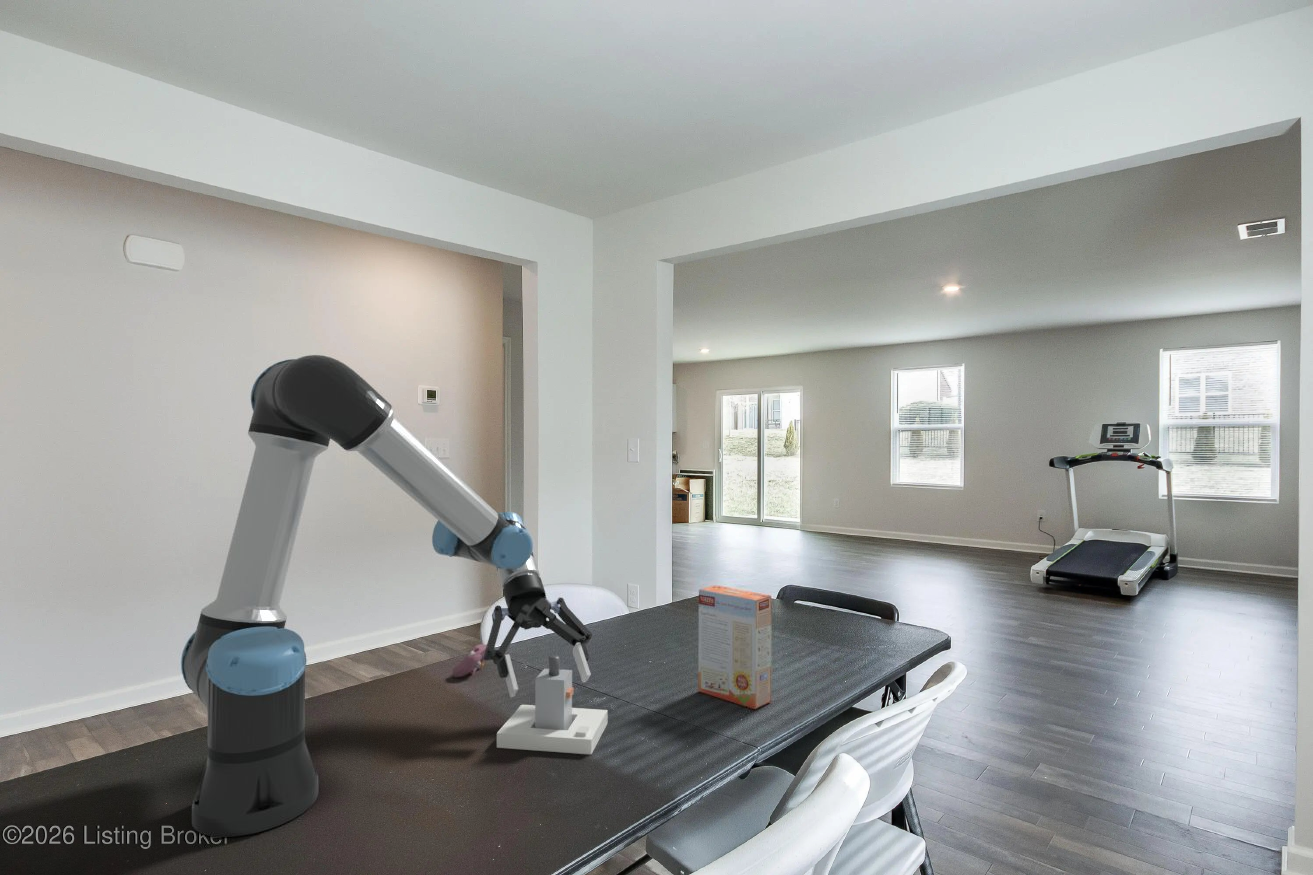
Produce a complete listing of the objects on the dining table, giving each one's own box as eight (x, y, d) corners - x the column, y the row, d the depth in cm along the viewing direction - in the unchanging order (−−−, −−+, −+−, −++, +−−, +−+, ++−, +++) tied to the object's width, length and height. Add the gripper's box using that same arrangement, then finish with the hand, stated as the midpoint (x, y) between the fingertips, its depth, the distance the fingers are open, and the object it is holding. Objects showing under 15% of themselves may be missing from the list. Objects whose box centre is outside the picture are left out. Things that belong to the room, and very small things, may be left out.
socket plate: (496, 747, 113) (496, 729, 113) (521, 717, 125) (521, 701, 124) (591, 754, 110) (591, 735, 110) (607, 723, 122) (607, 706, 122)
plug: (535, 737, 115) (535, 660, 115) (544, 725, 120) (544, 651, 120) (567, 739, 114) (567, 662, 114) (575, 727, 119) (575, 653, 119)
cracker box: (772, 702, 132) (773, 594, 132) (754, 711, 128) (755, 599, 128) (715, 683, 142) (716, 583, 142) (697, 691, 137) (697, 587, 137)
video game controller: (466, 686, 144) (481, 658, 143) (448, 675, 145) (462, 647, 144) (486, 670, 154) (500, 643, 153) (469, 660, 154) (482, 633, 154)
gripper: (574, 587, 141) (607, 682, 128) (452, 601, 128) (476, 710, 115) (586, 565, 136) (621, 662, 124) (461, 579, 123) (486, 688, 111)
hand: (551, 685), depth 119 cm, fingers open, 13 cm apart
